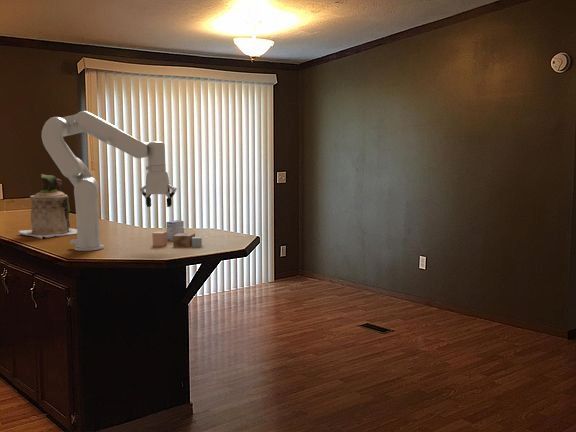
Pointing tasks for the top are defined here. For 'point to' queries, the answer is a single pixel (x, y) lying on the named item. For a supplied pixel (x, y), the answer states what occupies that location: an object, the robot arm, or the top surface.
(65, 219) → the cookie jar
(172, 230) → the medicine box
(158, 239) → the terracotta block
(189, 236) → the walnut block
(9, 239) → the top surface
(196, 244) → the slate block
